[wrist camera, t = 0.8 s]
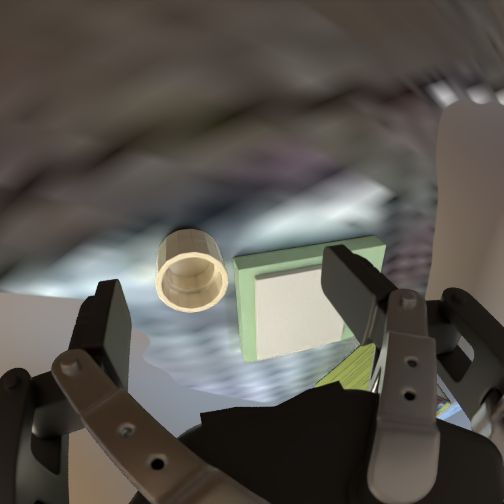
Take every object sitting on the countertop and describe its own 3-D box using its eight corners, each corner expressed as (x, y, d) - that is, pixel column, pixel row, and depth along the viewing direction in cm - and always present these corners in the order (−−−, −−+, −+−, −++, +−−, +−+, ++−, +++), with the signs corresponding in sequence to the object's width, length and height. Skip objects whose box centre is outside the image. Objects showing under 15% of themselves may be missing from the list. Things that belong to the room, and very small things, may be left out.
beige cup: (151, 231, 28) (149, 258, 24) (216, 222, 29) (225, 247, 25) (163, 285, 31) (163, 316, 27) (221, 276, 33) (230, 306, 28)
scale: (233, 257, 32) (240, 274, 29) (375, 235, 35) (390, 248, 32) (240, 350, 39) (246, 368, 36) (357, 322, 42) (367, 337, 39)
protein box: (312, 385, 48) (349, 462, 35) (382, 323, 44) (438, 397, 31) (345, 395, 53) (380, 460, 40) (406, 341, 49) (453, 403, 36)
